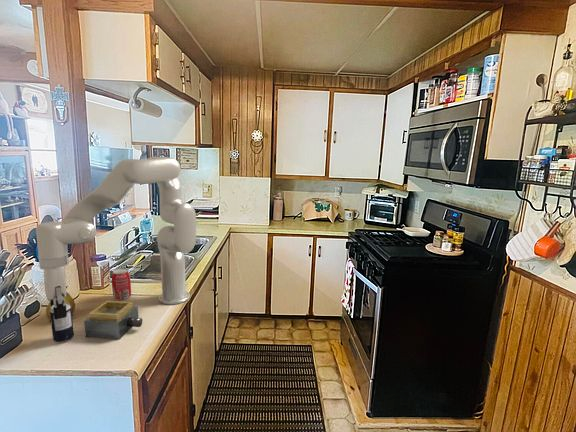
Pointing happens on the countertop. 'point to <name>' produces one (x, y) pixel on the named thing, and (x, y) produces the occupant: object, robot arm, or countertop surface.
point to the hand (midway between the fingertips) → (58, 312)
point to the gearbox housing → (112, 320)
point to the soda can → (121, 284)
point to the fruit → (67, 299)
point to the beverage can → (62, 326)
